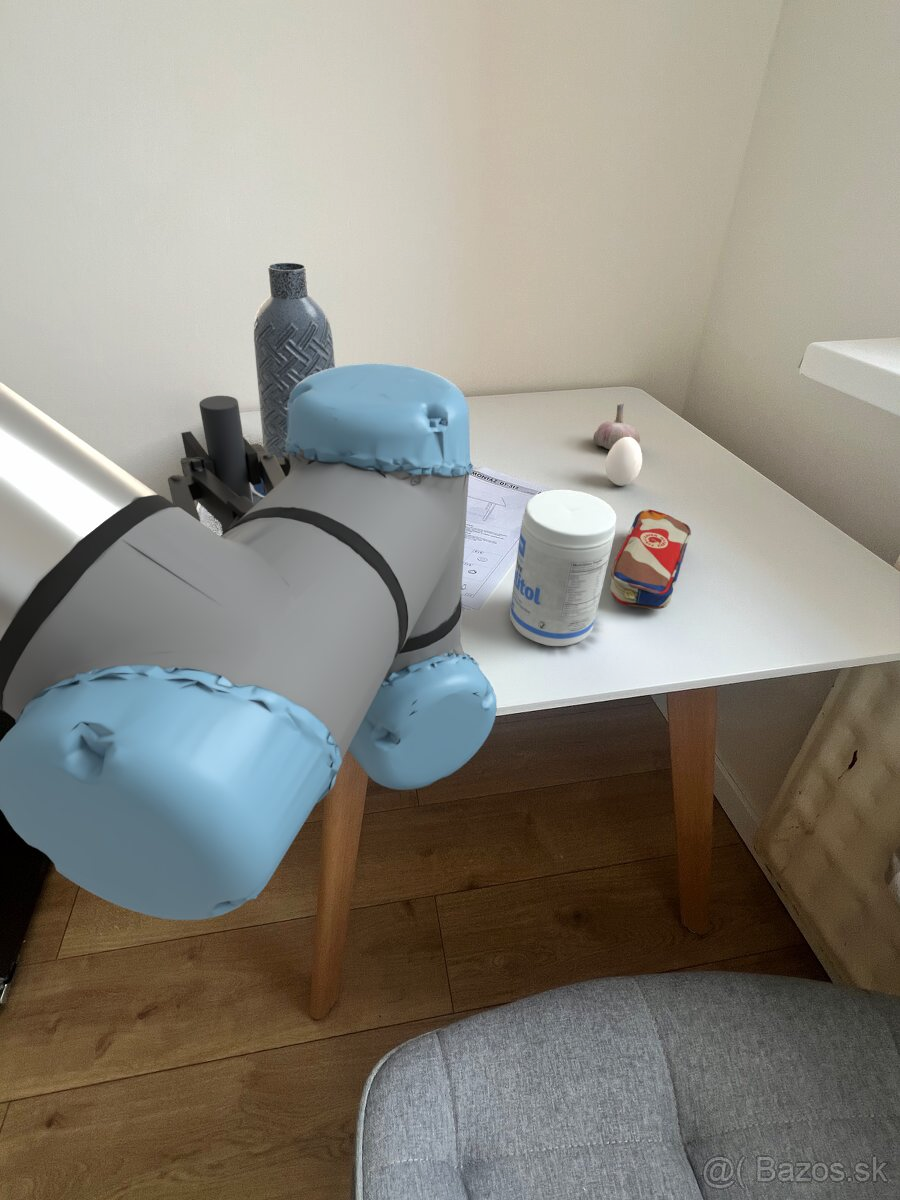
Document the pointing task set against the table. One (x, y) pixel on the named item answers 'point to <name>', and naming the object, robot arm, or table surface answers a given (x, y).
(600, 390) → the table surface
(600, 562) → the supplement tub
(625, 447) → the egg
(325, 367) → the vase
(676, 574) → the pencil case
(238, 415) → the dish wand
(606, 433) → the garlic bulb
